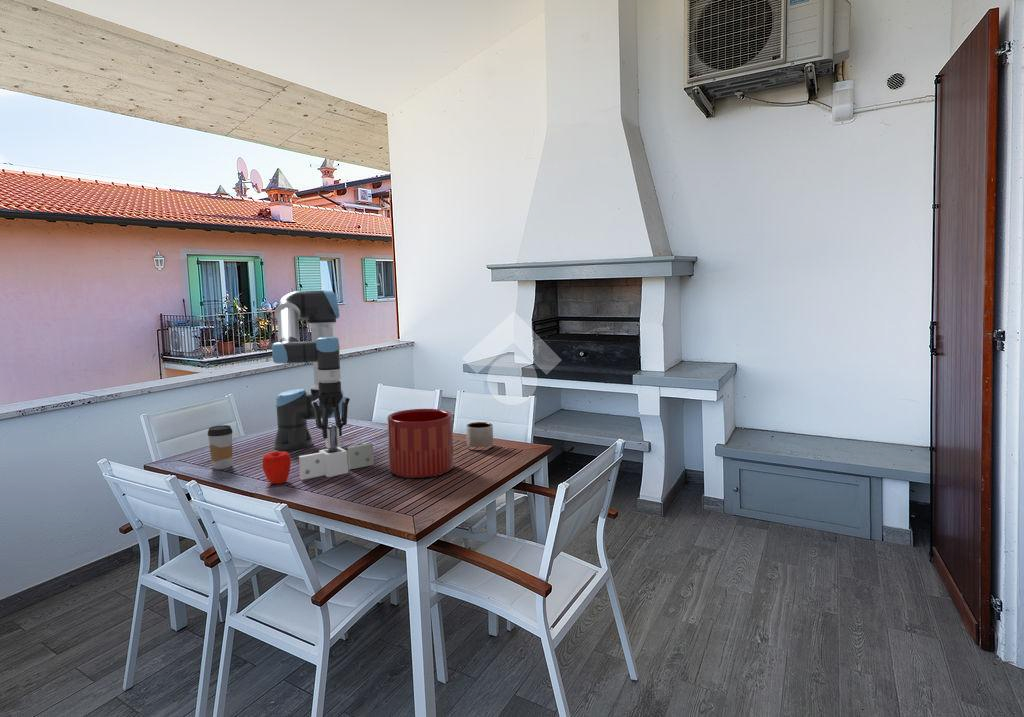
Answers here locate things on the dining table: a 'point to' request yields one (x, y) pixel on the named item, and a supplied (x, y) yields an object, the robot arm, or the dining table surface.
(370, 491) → the dining table surface
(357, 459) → the loose leaf
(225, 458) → the coffee cup
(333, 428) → the pin
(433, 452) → the planter
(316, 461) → the fixed hinge
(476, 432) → the planter
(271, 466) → the apple
